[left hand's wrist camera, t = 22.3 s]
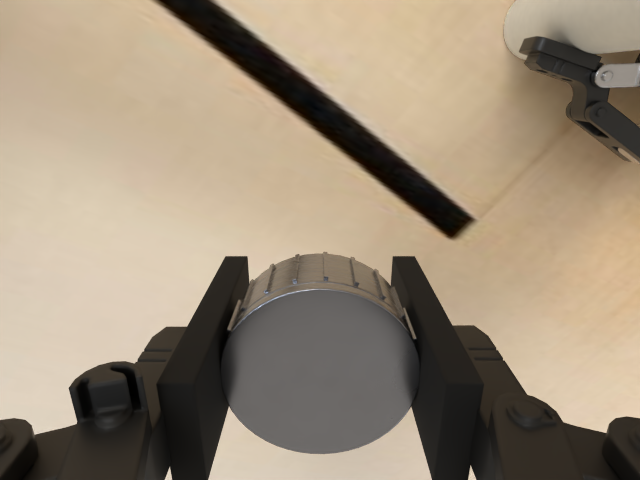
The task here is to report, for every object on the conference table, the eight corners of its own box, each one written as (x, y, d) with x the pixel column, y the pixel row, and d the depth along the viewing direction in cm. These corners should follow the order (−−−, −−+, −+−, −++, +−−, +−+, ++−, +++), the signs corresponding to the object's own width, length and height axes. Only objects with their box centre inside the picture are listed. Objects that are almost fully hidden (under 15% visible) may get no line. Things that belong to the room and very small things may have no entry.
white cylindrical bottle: (528, 74, 30) (766, 66, 14) (489, 25, 29) (700, -44, 13) (582, 24, 29) (907, -47, 13) (544, -29, 28) (849, -179, 12)
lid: (263, 224, 11) (251, 255, 9) (436, 284, 12) (460, 325, 10) (213, 372, 13) (193, 425, 11) (367, 417, 14) (375, 476, 12)
